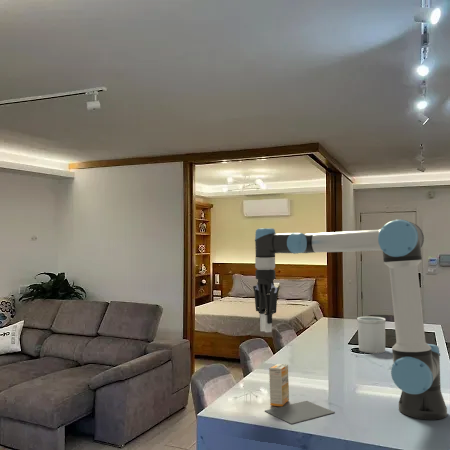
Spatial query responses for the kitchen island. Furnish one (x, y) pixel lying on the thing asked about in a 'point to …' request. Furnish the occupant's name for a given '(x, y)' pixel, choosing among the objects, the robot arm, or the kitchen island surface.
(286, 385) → the supplement box
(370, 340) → the utensil holder
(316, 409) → the mat
